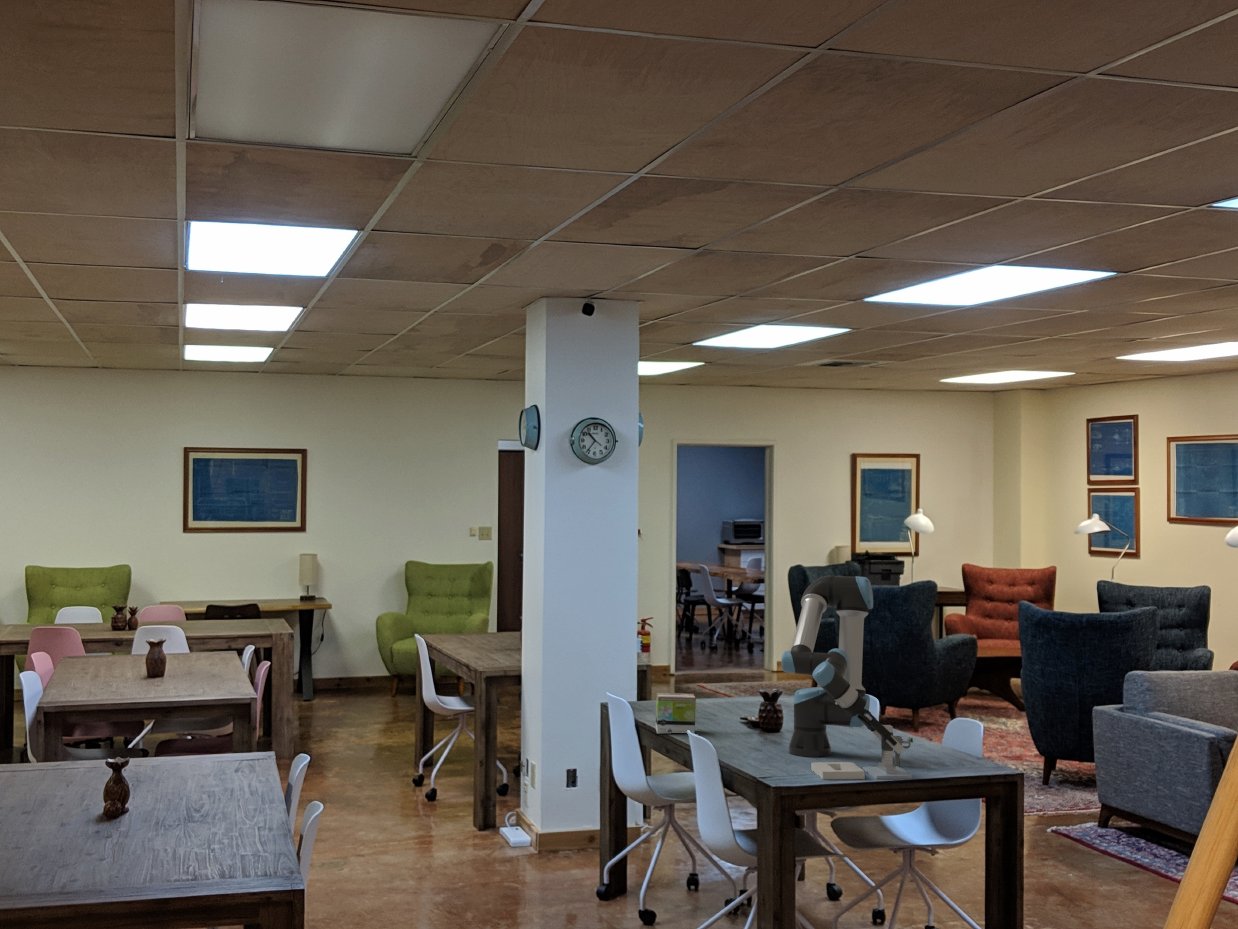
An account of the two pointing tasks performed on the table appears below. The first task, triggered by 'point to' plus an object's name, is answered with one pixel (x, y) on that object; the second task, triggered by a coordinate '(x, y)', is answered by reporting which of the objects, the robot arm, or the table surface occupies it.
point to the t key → (887, 755)
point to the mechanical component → (900, 740)
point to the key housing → (838, 770)
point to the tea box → (675, 712)
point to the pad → (881, 775)
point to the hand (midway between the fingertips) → (895, 747)
